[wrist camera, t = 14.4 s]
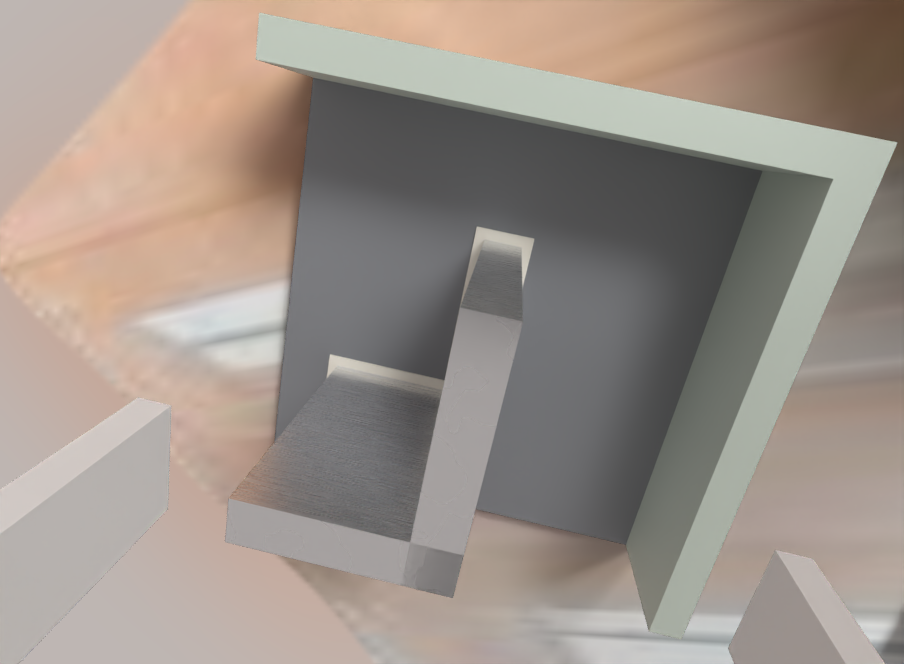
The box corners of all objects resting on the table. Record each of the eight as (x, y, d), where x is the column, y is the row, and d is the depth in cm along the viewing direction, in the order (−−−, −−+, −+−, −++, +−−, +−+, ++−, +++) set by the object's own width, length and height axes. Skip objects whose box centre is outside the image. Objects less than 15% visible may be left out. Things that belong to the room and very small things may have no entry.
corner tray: (322, 44, 26) (259, 12, 20) (801, 142, 25) (897, 142, 19) (278, 453, 33) (220, 526, 27) (649, 541, 33) (681, 639, 26)
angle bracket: (477, 429, 31) (452, 598, 19) (333, 395, 31) (224, 541, 20) (521, 247, 27) (522, 321, 16) (359, 212, 28) (247, 259, 16)
